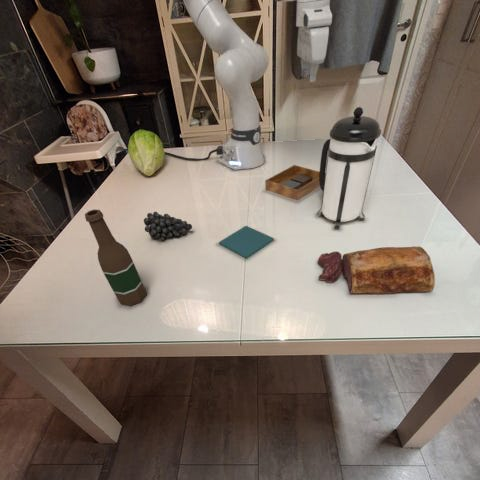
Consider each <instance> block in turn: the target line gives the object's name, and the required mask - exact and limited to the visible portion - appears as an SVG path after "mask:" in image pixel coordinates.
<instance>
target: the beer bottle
mask: <svg viewBox="0 0 480 480" xmlns="http://www.w3.org/2000/svg"><path fill="white" fill-rule="evenodd" d="M84 219H85V221H86V223H87V222H88V224H89V226H90V229H91V231H92V233H93V236H94V238H95V240H96V242H97V246H98V249H97V260H98V264H99V266H100V269H101V271H102V273H103V275H104V277H105V278H106V280H107V283H108V284H109V286H110V288H111V290H112V291H113V293H114V296H115V297H116V299H117V301H118V302H119V304H120V305H122V306H127V307H133V306H136V305H139V304H141V303H142V302H143V301H144V299H145V298H146V296H147V295H148V294H147V291H146V289H145V286H144V284H143V282H142V279H141V276H140V275H139V274H140V273H139V272H138V270H137V267H136V265H135V263H134V261H133V258H132V256H131V254H130V252H129V249H127V248H126V246H124V245H123V244H122V243H120V242H118V241H117V240H116V238H115V237H114V236H113V234H112V231H111V230H110V228H109V226H108V224H107V222H106V221H105V218H104V214H103V212H102V211H101V209H95V208H94V209H91V210H88V211H87V212H86V213H84Z"/></svg>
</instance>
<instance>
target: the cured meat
mask: <svg viewBox="0 0 480 480" xmlns="http://www.w3.org/2000/svg"><path fill="white" fill-rule="evenodd" d="M430 256H431V255H429V254H428V252H427V251H426V250H425V249H424V247H422V246H403V247H402V246H401V247H400V246H399V247H398V246H396V247H395V246H388V247H387V246H386V247H375V248H370V249H364V250H355V251H351V252H347V253H344V254H342V253H340V252H339V251H332V252H329V253H328V252H326V253H321V254H320V255H319V257H318V259H317V263H318V265H319V266H320V267H321V268H322V272H321V274H319V276H318V279H319V281H325V282H326V283H329V284H330V283H334V282H336V281H337V280H338V279H339V278H340V276H341V274H342V277H343V278H344V279H346V281H347V284H348V290H349V293H350V294H372V295H373V294H374V295H375V294H377V295H378V294H379V295H381V294H396V293H409V292H411V293H413V292H418V293H420V292H421V293H422V292H433V291H434V289H435V287H436V286H435V285H436V277H435V270H434V267H433V263H432V260H431V259H432V258H431V257H430Z"/></svg>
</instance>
